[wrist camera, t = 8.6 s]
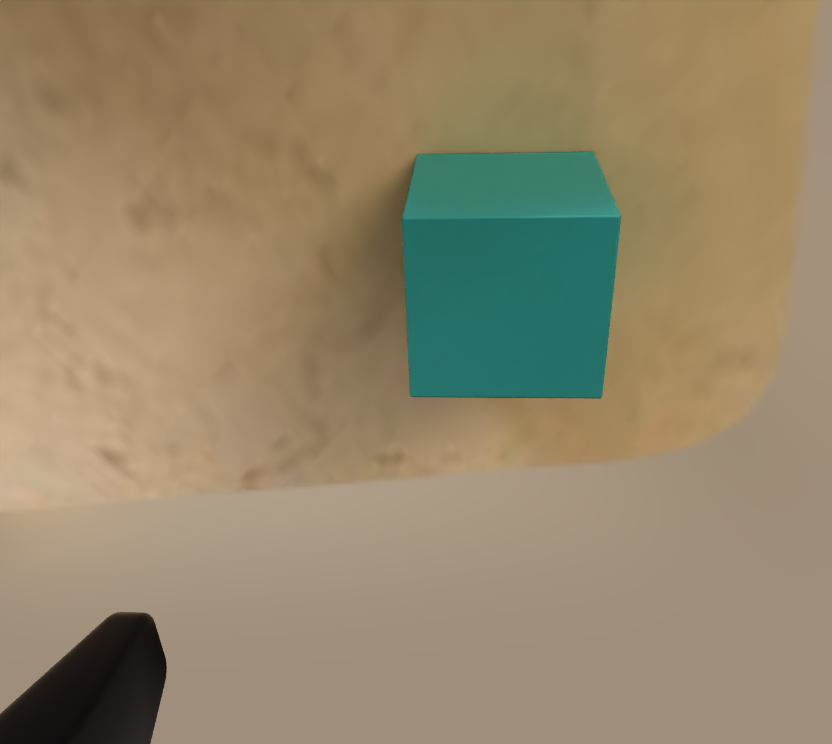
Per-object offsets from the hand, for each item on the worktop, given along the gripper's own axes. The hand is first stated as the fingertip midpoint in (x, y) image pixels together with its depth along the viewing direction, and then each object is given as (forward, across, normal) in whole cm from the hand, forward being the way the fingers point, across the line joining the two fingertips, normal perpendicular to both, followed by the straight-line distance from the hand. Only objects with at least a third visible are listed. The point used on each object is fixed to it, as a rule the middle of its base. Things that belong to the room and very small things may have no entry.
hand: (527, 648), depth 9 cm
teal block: (+12, 0, 0) cm, 12 cm away
